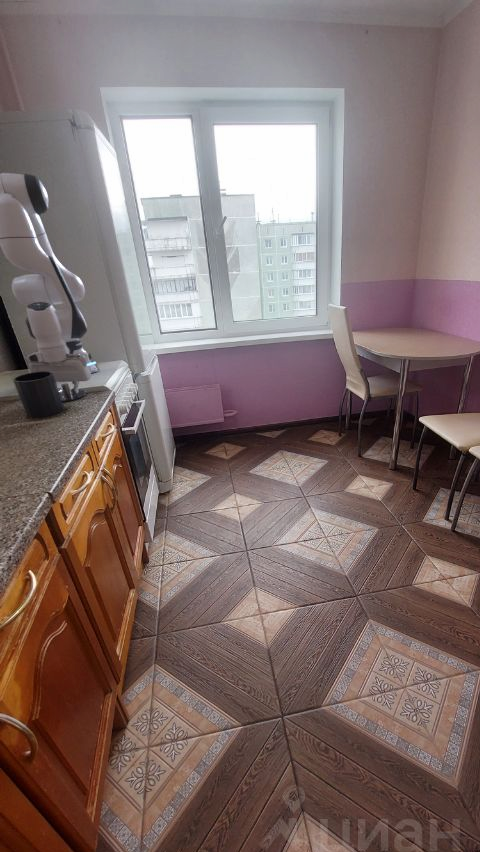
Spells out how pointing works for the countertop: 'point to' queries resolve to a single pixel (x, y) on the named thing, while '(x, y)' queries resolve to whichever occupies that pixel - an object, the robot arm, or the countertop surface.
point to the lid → (70, 394)
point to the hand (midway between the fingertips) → (67, 393)
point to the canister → (39, 394)
